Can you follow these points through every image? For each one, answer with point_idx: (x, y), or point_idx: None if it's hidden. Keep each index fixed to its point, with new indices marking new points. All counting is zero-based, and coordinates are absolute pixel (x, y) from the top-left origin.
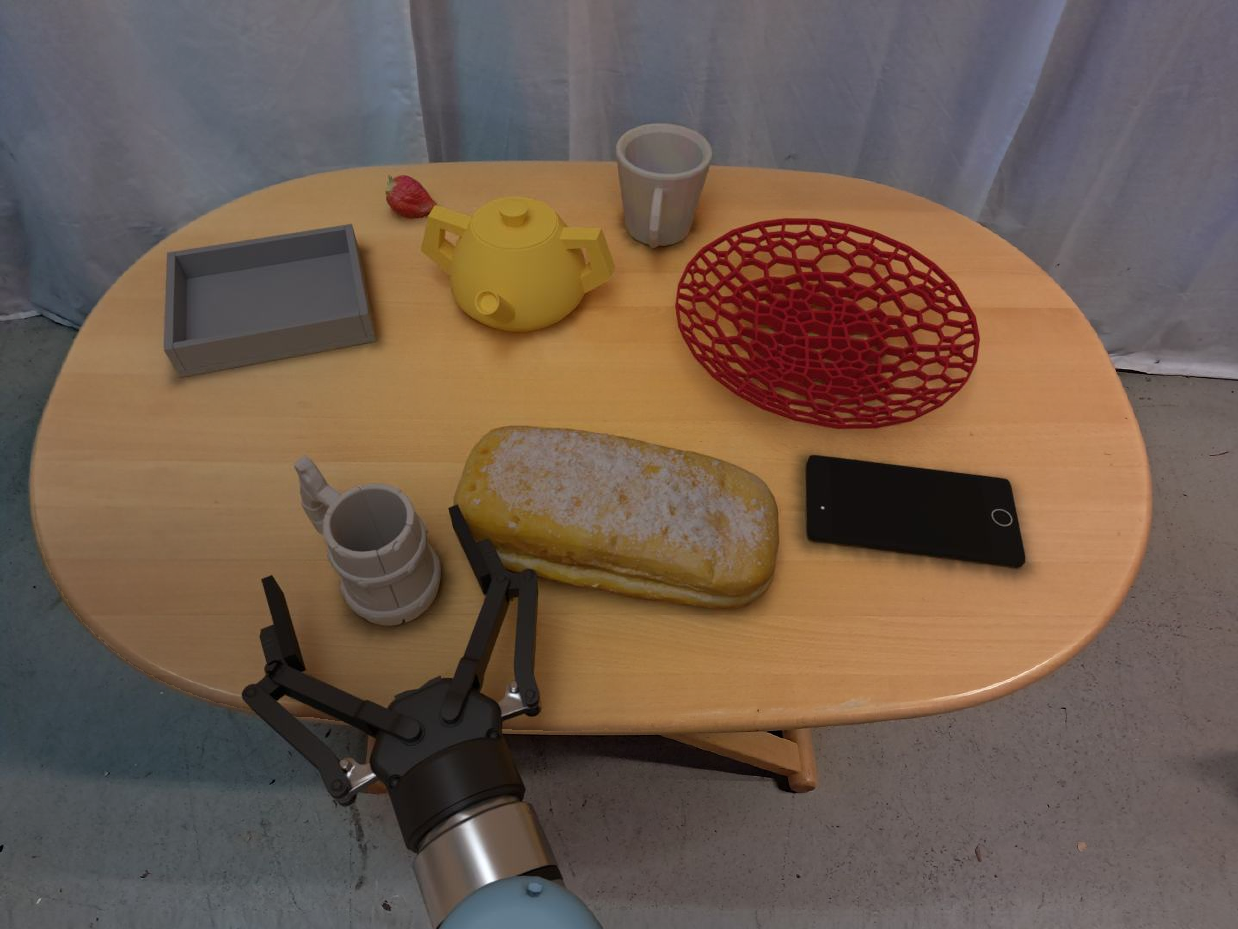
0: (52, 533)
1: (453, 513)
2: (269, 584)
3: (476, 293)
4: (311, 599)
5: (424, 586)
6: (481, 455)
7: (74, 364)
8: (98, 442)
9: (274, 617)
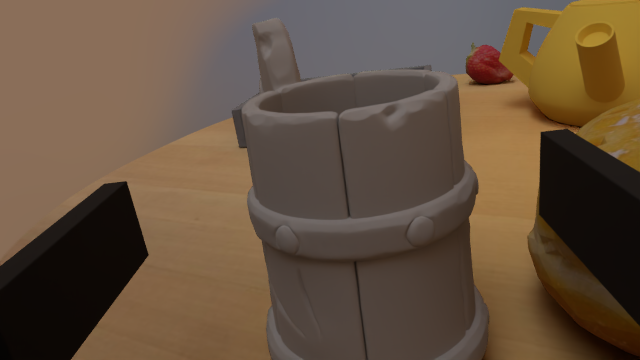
0: (42, 221)
1: (556, 137)
2: (107, 190)
3: (568, 68)
4: (224, 339)
5: (444, 336)
6: (610, 114)
7: (174, 141)
8: (143, 175)
9: (49, 229)
